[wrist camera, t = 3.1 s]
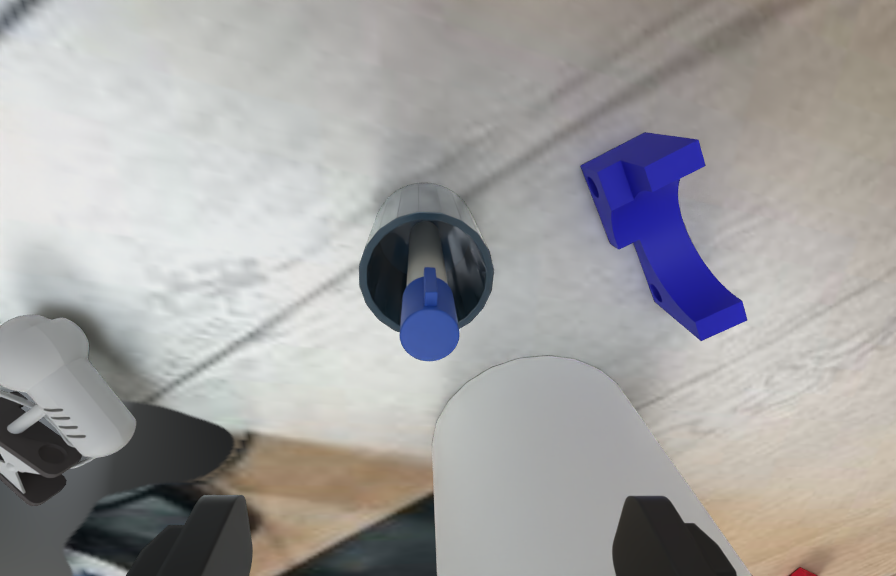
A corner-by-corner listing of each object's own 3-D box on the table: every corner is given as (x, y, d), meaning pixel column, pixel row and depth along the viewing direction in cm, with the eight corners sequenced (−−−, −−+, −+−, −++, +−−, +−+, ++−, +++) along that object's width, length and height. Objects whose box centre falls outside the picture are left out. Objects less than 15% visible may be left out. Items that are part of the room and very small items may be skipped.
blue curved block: (580, 165, 30) (617, 180, 24) (644, 132, 29) (698, 139, 23) (635, 310, 34) (678, 351, 28) (692, 283, 33) (747, 320, 28)
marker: (407, 251, 30) (399, 361, 18) (408, 209, 29) (400, 294, 16) (440, 252, 31) (457, 362, 18) (443, 211, 30) (462, 296, 17)
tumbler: (374, 277, 32) (360, 335, 24) (374, 179, 29) (358, 208, 21) (470, 281, 32) (486, 338, 24) (478, 185, 30) (500, 215, 22)
